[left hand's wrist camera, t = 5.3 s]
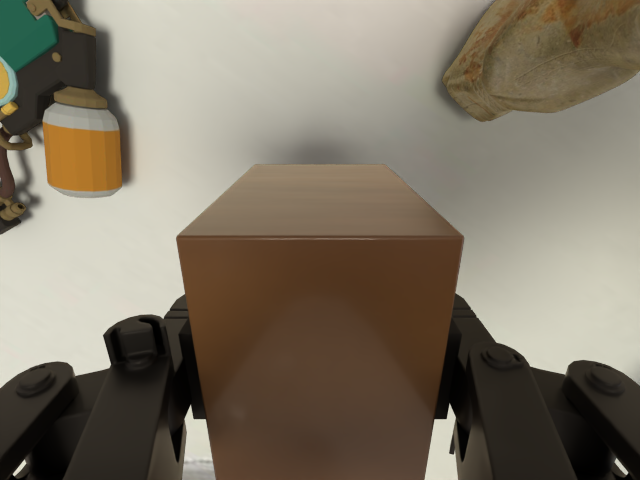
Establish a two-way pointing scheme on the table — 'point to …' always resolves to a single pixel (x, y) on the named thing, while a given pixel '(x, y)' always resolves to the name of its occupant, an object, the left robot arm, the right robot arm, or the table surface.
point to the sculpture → (545, 55)
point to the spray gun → (65, 114)
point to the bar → (320, 322)
